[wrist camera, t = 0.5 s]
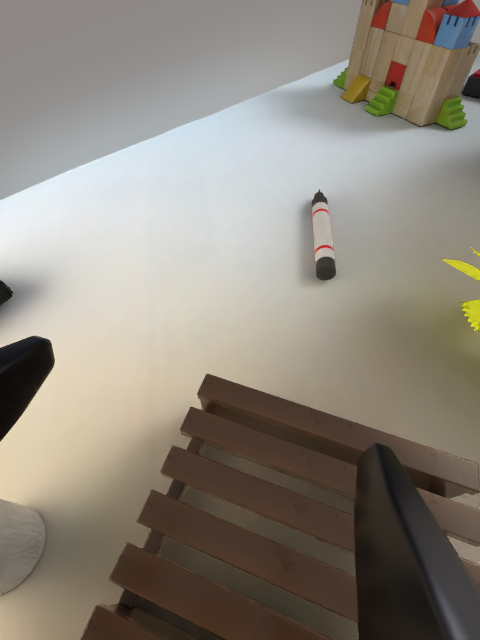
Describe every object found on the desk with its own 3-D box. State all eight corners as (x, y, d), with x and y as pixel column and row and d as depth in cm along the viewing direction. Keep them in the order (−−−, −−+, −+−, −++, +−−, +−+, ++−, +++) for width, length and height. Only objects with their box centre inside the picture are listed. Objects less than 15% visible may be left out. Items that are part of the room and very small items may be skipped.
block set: (477, 122, 58) (563, -37, 43) (421, 139, 54) (492, -30, 39) (369, 76, 73) (403, -55, 58) (318, 86, 69) (341, -51, 54)
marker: (333, 281, 34) (338, 266, 32) (314, 279, 34) (318, 265, 33) (324, 198, 43) (327, 184, 42) (309, 198, 43) (312, 184, 42)
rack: (437, 811, 14) (514, 905, 10) (110, 632, 18) (73, 650, 14) (436, 481, 22) (478, 463, 18) (211, 402, 26) (206, 372, 22)
